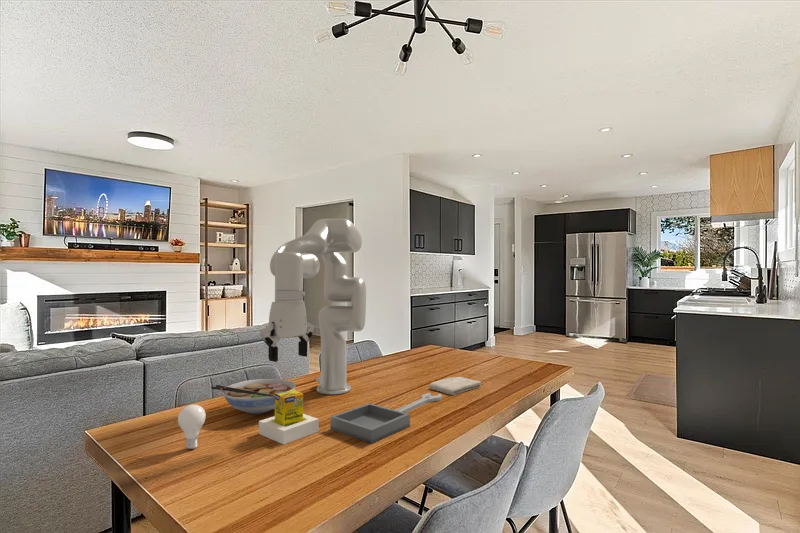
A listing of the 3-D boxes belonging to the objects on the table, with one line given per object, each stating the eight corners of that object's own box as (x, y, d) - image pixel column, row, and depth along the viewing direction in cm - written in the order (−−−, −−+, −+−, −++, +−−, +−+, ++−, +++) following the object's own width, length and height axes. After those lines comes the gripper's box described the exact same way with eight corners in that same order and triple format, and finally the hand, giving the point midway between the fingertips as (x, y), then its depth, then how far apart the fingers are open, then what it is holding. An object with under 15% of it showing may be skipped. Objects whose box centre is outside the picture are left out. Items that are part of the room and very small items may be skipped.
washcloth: (483, 387, 164) (483, 379, 164) (452, 397, 152) (452, 388, 152) (459, 381, 173) (459, 374, 173) (428, 390, 161) (428, 382, 161)
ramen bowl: (313, 405, 142) (313, 380, 142) (264, 428, 121) (264, 399, 121) (255, 396, 152) (256, 373, 152) (202, 416, 132) (202, 389, 132)
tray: (330, 429, 120) (330, 416, 120) (369, 414, 133) (369, 403, 133) (371, 443, 110) (371, 430, 110) (409, 426, 123) (409, 414, 123)
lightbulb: (184, 444, 110) (184, 401, 110) (209, 443, 111) (209, 400, 111) (173, 454, 104) (173, 409, 104) (200, 453, 104) (200, 408, 105)
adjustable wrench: (396, 418, 130) (396, 413, 130) (381, 414, 135) (381, 408, 135) (444, 399, 149) (444, 394, 149) (430, 396, 153) (430, 391, 153)
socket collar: (258, 433, 117) (258, 420, 117) (293, 422, 126) (293, 410, 126) (283, 444, 110) (283, 430, 110) (318, 431, 119) (318, 418, 119)
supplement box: (283, 438, 114) (283, 397, 114) (274, 432, 118) (274, 392, 118) (303, 433, 118) (303, 393, 118) (293, 427, 122) (293, 388, 122)
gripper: (305, 295, 127) (305, 352, 127) (253, 297, 114) (252, 361, 114) (321, 295, 122) (321, 355, 122) (269, 298, 109) (269, 365, 109)
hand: (288, 358), depth 118 cm, fingers open, 9 cm apart
